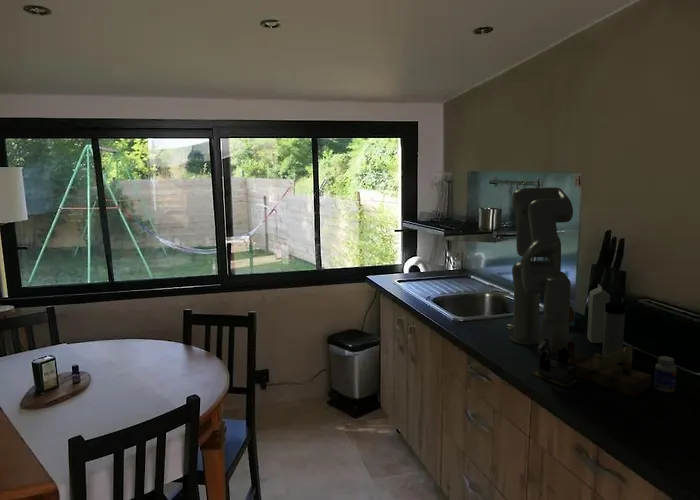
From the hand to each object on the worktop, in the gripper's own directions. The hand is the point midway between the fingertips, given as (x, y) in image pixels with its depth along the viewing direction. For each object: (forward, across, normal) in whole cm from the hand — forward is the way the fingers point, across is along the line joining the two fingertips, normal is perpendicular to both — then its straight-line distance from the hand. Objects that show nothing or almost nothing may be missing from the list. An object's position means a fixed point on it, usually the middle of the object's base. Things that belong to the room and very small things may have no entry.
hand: (553, 366), depth 157 cm
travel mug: (+4, -31, +3) cm, 32 cm away
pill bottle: (+4, -18, +25) cm, 31 cm away
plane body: (+4, -11, +9) cm, 15 cm away
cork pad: (+4, 0, 0) cm, 4 cm away
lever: (0, -5, +16) cm, 17 cm away
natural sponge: (+5, -49, -27) cm, 56 cm away
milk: (+5, -43, -9) cm, 44 cm away
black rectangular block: (+3, 0, +1) cm, 4 cm away
